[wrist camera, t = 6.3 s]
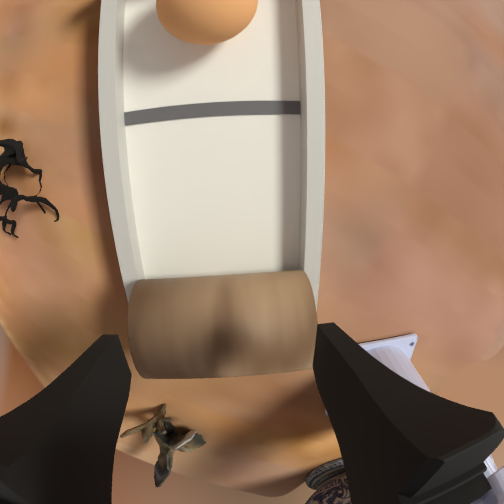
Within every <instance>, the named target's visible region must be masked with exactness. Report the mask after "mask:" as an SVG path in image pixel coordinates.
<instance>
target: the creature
mask: <svg viewBox="0 0 504 504" xmlns="http://www.w3.org/2000/svg"><path fill="white" fill-rule="evenodd" d="M0 146H2V147H4V149H5V151H4V152H3V154H2V155H0V173H1V171H2V169H3V167H4V166H5V165H7V164H9V165H8V167H7V169H8V168H9V167H10V166H11V164H13V165H19V166H23V167H25V168H28V169H29V170H31V171H32V172H33V173H39V175H40V176H39V182H40V185H41V177H42V170H41V169H33V168H32V167H30V166H29V165H28V163H27V161H26V159H27V157H26V158H25V154H24V149H23V143H22V141H16V140H14V139H5V140H0ZM7 169H6V171H7ZM6 171H5V172H6ZM5 172H4V174H5ZM4 179H5V175H4ZM5 182H6V181H5ZM6 184H7V183H6ZM41 188H42V185H41ZM40 191H41V189H40ZM0 194H2V199H1V201H0V204H1V203H2V202H3V201H5V200H11V202H10V204H9V206H8V208H7V210H6V213H5V216H2V217H1V216H0V221H3V222H2V226H3V231H4V232H6V231H5V227H6V223H7V224H12V227H11V233H9V232H6V233H8V234H10V235H11V234H12V235H13V236H15V237H17V238H18V236H16V235H14V230H15V227H16V221H15V220H8V219H7V215H6V214H7V211H8V209H9V208H10V207H11V210H12V212H14V211H15V209H16V206H17V202H18V201H20V200H23V199H24V200H25V201H30V202H37V203H38V202H42V203H44V204H46V205H48V206H49V207H51V208H52V209H54V210H55V212H56V215H57V217H58V218H57V220H55V221H58V220H59V213H58V210H57V209H56V207H55V206H54V205H53V204H51V203H50V202H49V201H48V200H47V199H46V198H43V197H37V195H38V194H37V195H36V196H28V197H27V196H24V195H18V191H17V189H15V188H13V187H9V186H8V185H7V186H6V185H4V184H2V183H1V181H0ZM38 205H39V206H40V207H41V205H40V204H39V203H38ZM41 209H42V210H43V212H44V213H45V211H44V209H43V208H42V207H41ZM55 221H54V222H55Z"/></svg>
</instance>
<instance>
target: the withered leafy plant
mask: <svg viewBox="0 0 504 504" xmlns="http://www.w3.org/2000/svg"><path fill="white" fill-rule="evenodd" d="M165 414H166V404H163V405H162V408H161V410H158V412H157V413H156V414H155V416H154V417H152V418H151V419H150V420H148V421H147V422H146V423H144V424H142V425H139V426H137V427H134V428H132V429H129V430H126V431H125V432H124V433H123V434H122V435H121V436H120V437H121V438H124V437H126V436H128V435H132V434H134V433H136V432H138V431H143V432H142V436H143V438H144V440H145V443H147V441H148V440H149V439H150V437H151V436H152V433H153V434H154V436H155V438H156V441H157V442H158V444H159V446H160V454H159V456H158V461H157V462H156V464H155V473H154V479H155V485H156V487H160V486H161V484H162V483H163V482H164V481H165V480H166V478H167V477H168V475H169V474H170V471H171V468H172V461H173V453H174V452H175V451H176V450H179V451H182V452H191V451H193V450H195V449H197V448H199V447H201V446H203V445H204V444H205V443H206V442H205V441H204V440H203V439H202V435H199V434H197V433H196V430H192V431H190V432H188V433H186V434H185V435H181V434H180V433H178V432H177V431H176V430H175V428H174V426H173V425H172V424H171V423H170V421H171V420H172V418H171V417H167V418H165V417H164V415H165ZM164 427H165V429H164ZM195 433H196V434H195Z"/></svg>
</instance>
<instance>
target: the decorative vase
mask: <svg viewBox="0 0 504 504" xmlns="http://www.w3.org/2000/svg"><path fill="white" fill-rule="evenodd" d="M305 481H306V484H307V486H308V487H309V488H311V489H314V490H317V491H316V492H315V493H314V494H313V495H312V496H311V497H310V498H309V499H308V501H307V502H306V503H305V504H351V498H350V493H349V487H348V482H347V477H346V473H345V468H344V464H343V459H342V458H340V459H336V460H334V461H330V462H328V463H326V464H323V465H321V466H319V467H317V468H316V469H314V470H313V471H311V472H310V473H309V474H308V475H307V477H306V480H305Z"/></svg>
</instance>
